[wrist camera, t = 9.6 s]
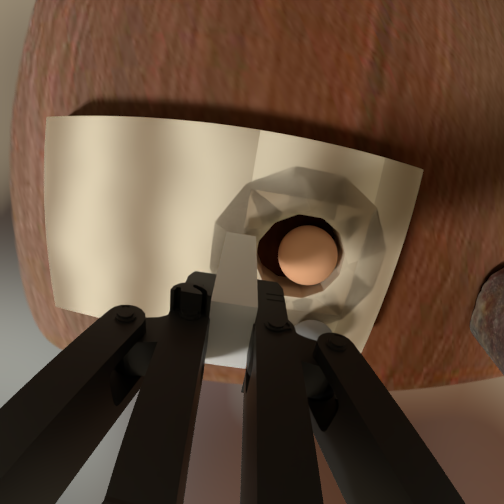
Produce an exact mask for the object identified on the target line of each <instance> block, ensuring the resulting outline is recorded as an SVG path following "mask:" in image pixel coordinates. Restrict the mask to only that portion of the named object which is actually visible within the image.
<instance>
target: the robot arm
mask: <svg viewBox="0 0 504 504" xmlns="http://www.w3.org/2000/svg"><path fill="white" fill-rule="evenodd" d="M204 363H208V364H215V365H222V366H229V367H237V368H245V367H246V363H247V368H246V373H245V377H244V382H243V386H242V391H241V392H243V393H244V400H243V431H242V461H241V493H240V494H241V495H240V504H323V497H322V490H321V483H320V476H319V469H318V462H317V455H316V449H315V443H314V436H313V433H314V435H315V438H316V440H317V442H318V444H319V446H320V448H321V450H322V453H323V455H324V457H325V459H326V461H327V463H328V465H329V468H330V470H331V472H332V474H333V476H334V478H335V480H336V482H337V485H338V487H339V489H340V491H341V493H342V495H343V497H344V499H345V501H346V503H347V504H465V502H464V501H463V499H462V498H461V496H460V495H459V493H458V492H457V490H456V489H455V487H454V486H453V484H452V483H451V481H450V480H449V478H448V477H447V475H446V474H445V472H444V471H443V469H442V468H441V466H440V465H439V464H438V462H437V460H436V459H435V457H434V456H433V455H432V453H431V452H430V450H429V449H428V448H427V446H426V445H425V443H424V441H423V440H422V439H421V437H420V436H419V434H418V433H417V431H416V430H415V429H414V427H413V426H412V424H411V423H410V421H409V420H408V419H407V417H406V416H405V414H404V413H403V411H402V410H401V409H400V407H399V406H398V404H397V403H396V402H395V400H394V399H393V398H392V396H391V395H390V393H389V392H388V390H387V389H386V388H385V386H384V385H383V383H382V382H381V381H380V379H379V378H378V376H377V375H376V374H375V372H374V371H373V369H372V368H371V367H370V365H369V364H368V363H367V361H366V360H365V358H364V357H363V356H362V354H361V353H360V352H359V350H358V349H357V348H356V346H355V345H354V343H353V342H352V341H351V340H350V339H349V338H347V337H345V336H343V335H341V334H338V333H330V332H328V333H323V334H321V335H320V336H319V337H318V339H317V341H316V340H313V339H310V338H306V337H304V336H301V335H300V334H298V333H296V330H295V327H294V325H293V323H292V322H290V321H289V320H288V315H287V309H286V303H285V298H284V292H283V288H282V287H281V286H280V285H279V284H278V282H273V281H266V280H259V279H257V252H256V236H251V235H244V234H238V233H231V232H226V237H225V241H224V245H223V249H222V254H221V258H220V262H219V267H218V271H217V274H212V273H205V272H199V271H194V272H193V273H191V274H190V275H189V276H188V278H187V280H186V282H185V283H179V284H177V285H174V286H173V287H172V288H171V290H170V311H169V314H168V315H165V316H162V317H145V313H144V311H143V310H142V309H140V308H138V307H137V306H133V305H119V306H115V307H113V308H111V309H110V310H108V311H107V312H106V313H105V314H104V315H103V316H101V317H100V318H99V319H98V320H97V321H96V322H94V323H93V324H92V325H91V326H90V327H89V328H87V329H86V330H85V331H84V332H83V333H82V334H81V335H79V336H78V337H77V338H76V339H75V340H74V341H73V342H72V343H70V344H69V345H68V346H67V347H66V348H65V349H64V350H63V351H61V352H60V353H59V354H58V355H57V356H56V357H55V358H54V359H53V360H52V361H51V362H49V363H48V364H47V365H46V366H45V367H44V368H43V369H42V370H40V371H39V372H38V373H37V374H36V375H35V376H34V377H33V378H32V379H31V380H30V381H29V382H28V383H26V385H24V387H22V388H21V389H20V390H19V391H18V392H17V393H16V394H15V395H14V396H13V397H12V398H11V399H10V400H9V401H8V402H7V403H6V404H4V405H3V406H2V407H1V408H0V504H55V503H56V502H57V500H58V499H59V498H60V496H61V495H62V494H63V492H64V491H65V490H66V488H67V487H68V485H69V484H70V483H71V481H72V480H73V479H74V477H75V476H76V474H77V473H78V472H79V470H80V469H81V468H82V466H83V465H84V464H85V462H86V461H87V460H88V458H89V457H90V455H91V454H92V453H93V451H94V450H95V448H96V447H97V446H98V444H99V443H100V442H101V441H102V439H103V438H104V436H105V435H106V434H107V432H108V431H109V430H110V428H111V427H112V426H113V424H114V423H115V422H116V420H117V419H118V418H119V416H120V415H121V413H122V412H123V411H124V409H125V408H126V407H127V405H128V404H129V403H130V401H131V400H132V399H133V397H134V396H135V395H136V393H137V392H138V391H139V389H140V391H139V394H138V397H137V400H136V402H135V405H134V408H133V411H132V414H131V417H130V420H129V423H128V426H127V429H126V432H125V435H124V438H123V441H122V445H121V447H120V451H119V453H118V457H117V460H116V463H115V466H114V470H113V473H112V476H111V480H110V483H109V486H108V489H107V493H106V496H105V499H104V501H103V502H102V504H183V503H184V495H185V488H186V481H187V474H188V467H189V461H190V454H191V447H192V441H193V435H194V427H195V422H196V415H197V409H198V403H199V397H200V391H201V385H202V379H203V373H204Z"/></svg>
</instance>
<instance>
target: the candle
mask: <svg viewBox="0 0 504 504" xmlns="http://www.w3.org/2000/svg"><path fill="white" fill-rule="evenodd" d="M470 330H471V332H472V334H473V336H474V337H475V338H476V339H477V341H478V342H479V343H480V345H481V346H482V347H483V348H484V350H485V351H486V353H487V354H488V355H489V356H490V358H491V359H492V360H493V362H494V363H495V364H496V366H497V367H498V368H499V370H500V371H501V372H502V373H503V375H504V268H502V269H501V270H499V271H497V272H495V273H494V274H492V275H491V276H490V277H489V279H488V280H487V281H486V282H485V283H484V285H483V287H482V290H481V292H480V293H479V295H478V297H477V300H476V306H475V309H474V311H473V314H472V317H471V321H470Z"/></svg>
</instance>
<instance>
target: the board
mask: <svg viewBox="0 0 504 504" xmlns="http://www.w3.org/2000/svg"><path fill="white" fill-rule="evenodd" d="M422 174H423V169H420V168H418V167H415V166H411V165H408V164H405V163H402V162H399V161H395V160H392V159H389V158H385V157H382V156H378V155H374V154H371V153H367V152H363V151H359V150H355V149H351V148H347V147H343V146H339V145H335V144H330V143H326V142H322V141H317V140H312V139H307V138H303V137H298V136H292V135H287V134H282V133H276V132H271V131H265V130H259V129H252V128H246V127H239V126H232V125H224V124H216V123H208V122H199V121H189V120H178V119H166V118H151V117H132V116H54V117H47V120H46V132H45V150H44V208H45V226H46V239H47V249H48V259H49V267H50V274H51V281H52V288H53V294H54V300H55V306H56V307H59V308H63V309H67V310H70V311H74V312H78V313H82V314H86V315H90V316H94V317H99V318H100V317H101V316H103V315H104V314H105V313H106V312H107V311H108V310H110V309H111V308H113V307H115V306H119V305H133V306H137V307H138V308H140V309H142V310H143V311H144V313H145V317H162V316H165V315H168V314H169V311H170V290H171V288H172V287H173V286H174V285H177V284H179V283H185V282H186V280H187V278H188V276H189V275H190V274H191V273H193V272H194V271H199V272H205V273H212V274H217V271H218V267H219V262H220V258H221V254H222V249H223V245H224V241H225V237H226V232H231V233H238V234H244V235H251V236H256V252H257V249H258V243H259V240H260V239H261V238H262V237H263V236H264V234H265V233H266V232H267V231H268V230H269V229H270V228H271V227H272V225H273V224H274V223H275V222H278V221H281V220H283V219H286V218H289V217H292V216H295V215H298V214H301V215H307V216H313V217H318V218H323V219H324V220H325V221H326V222H328V223H329V224H330V225H331V226H332V229H333V233H334V236H335V244H336V247H337V253H338V257H337V263H336V266H335V269H334V270H333V272H332V273H331V275H330V276H329V277H328V278H327V279H325V280H324V281H322V282H320V283H318V284H314V285H301V284H298V283H295V282H293V281H292V280H290V279H289V278H288V277H282V276H277V275H276V274H274V273H273V272H272V271H270V270H269V269H268V268H266V267H265V266H264V265H262V263H261V261H260V258H259V256H258V253H257V279H259V280H266V281H273V282H278V284H279V285H280V286H281V287H282V288H283V292H284V298H285V303H286V309H287V315H288V320H289V321H290V322H292V323H293V325H294V326H295V325H297V324H298V323H300V322H302V321H306V320H316V321H320V322H322V323H324V324H325V325H327V326H328V327H329V328H330V329H331V331H332V332H333V333H338V334H341V335H343V336H345V337H347V338H349V339H350V340H351V341H352V342H353V343H354V345H355V346H356V348H357V349H358V350H359V352H360V353H361V352H362V350H363V348H364V345H365V343H366V341H367V339H368V336H369V334H370V332H371V329H372V327H373V325H374V322H375V320H376V317H377V315H378V312H379V310H380V307H381V305H382V302H383V300H384V297H385V295H386V292H387V289H388V287H389V284H390V281H391V278H392V276H393V273H394V270H395V267H396V264H397V261H398V258H399V255H400V252H401V249H402V246H403V243H404V240H405V237H406V233H407V230H408V227H409V223H410V220H411V216H412V213H413V209H414V206H415V202H416V198H417V194H418V191H419V187H420V183H421V178H422Z"/></svg>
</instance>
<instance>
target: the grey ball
mask: <svg viewBox="0 0 504 504" xmlns="http://www.w3.org/2000/svg"><path fill="white" fill-rule="evenodd" d="M294 327H295V330H296V333H298V334H300V335H301V336H304V337H306V338H310V339H313V340H316V341H317V339H318V337H319V336H320V335H321V334H323V333H328V332H330V333H333V332H332V331H331V329H330V328H329V327H328V326H327V325H325V324H324V323H322V322H320V321H316V320H306V321H302V322H300V323H298V324H297V325H295V326H294Z"/></svg>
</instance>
